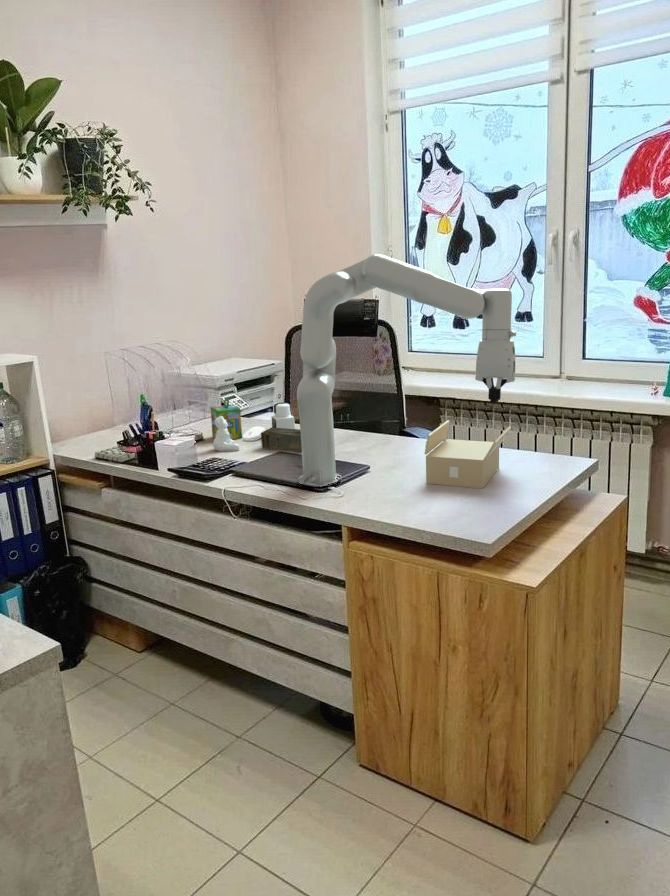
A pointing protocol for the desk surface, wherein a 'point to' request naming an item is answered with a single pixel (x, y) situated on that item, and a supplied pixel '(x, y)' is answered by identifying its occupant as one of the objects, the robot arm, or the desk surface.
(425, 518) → the desk surface
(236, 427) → the chalk box
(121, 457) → the mechanical keyboard
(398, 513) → the desk surface
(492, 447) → the right flap
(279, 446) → the beverage carton
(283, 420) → the medicine bottle
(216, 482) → the desk surface
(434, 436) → the left flap
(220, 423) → the white creature statuette
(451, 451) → the carton
